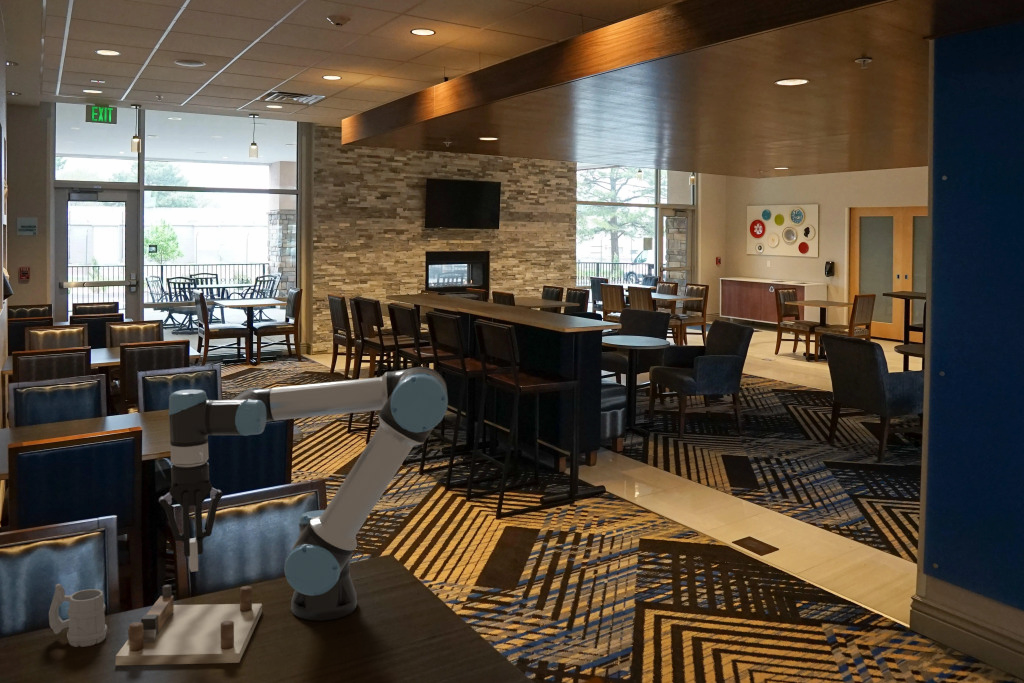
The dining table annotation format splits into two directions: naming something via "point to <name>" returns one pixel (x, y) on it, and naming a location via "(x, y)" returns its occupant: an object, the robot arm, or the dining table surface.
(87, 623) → the mug
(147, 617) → the brown piece
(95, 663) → the dining table surface
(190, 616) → the stool seat
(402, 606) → the dining table surface
